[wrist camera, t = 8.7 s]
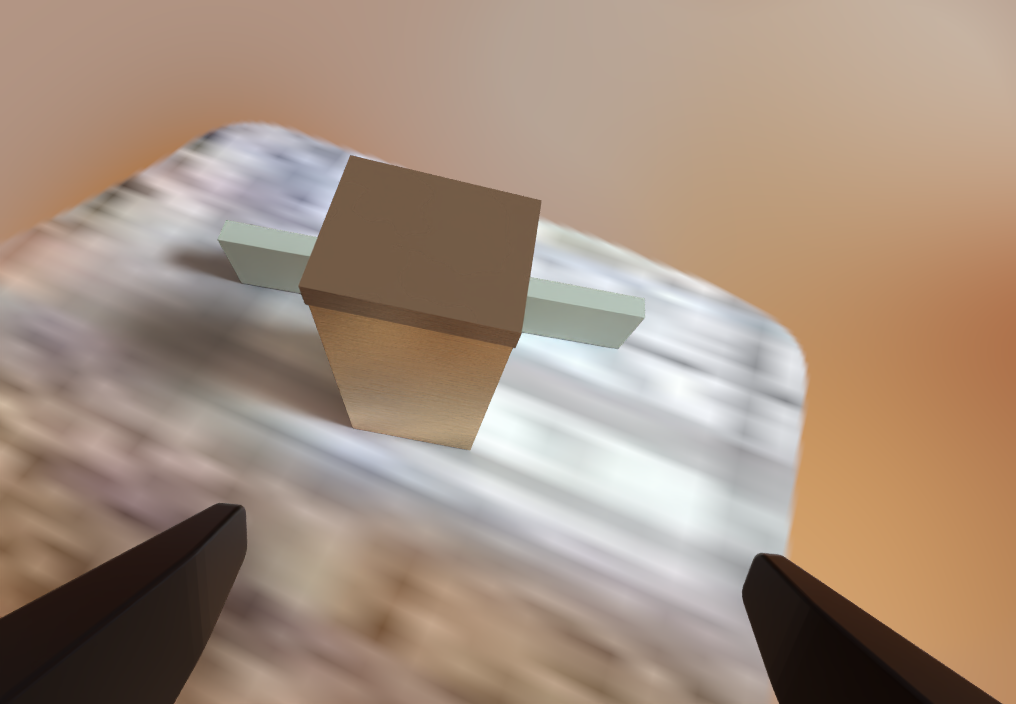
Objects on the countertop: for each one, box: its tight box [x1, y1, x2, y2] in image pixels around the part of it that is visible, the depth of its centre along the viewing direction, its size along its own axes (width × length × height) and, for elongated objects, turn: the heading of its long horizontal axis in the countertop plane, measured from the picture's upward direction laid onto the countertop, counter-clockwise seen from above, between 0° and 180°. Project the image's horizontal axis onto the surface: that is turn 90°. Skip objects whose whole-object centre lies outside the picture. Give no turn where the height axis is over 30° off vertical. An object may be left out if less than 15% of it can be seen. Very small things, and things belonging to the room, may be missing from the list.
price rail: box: [218, 220, 645, 349], centre depth 23 cm, size 18×1×3 cm, turn 84°
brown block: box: [298, 155, 541, 450], centre depth 17 cm, size 5×4×11 cm
